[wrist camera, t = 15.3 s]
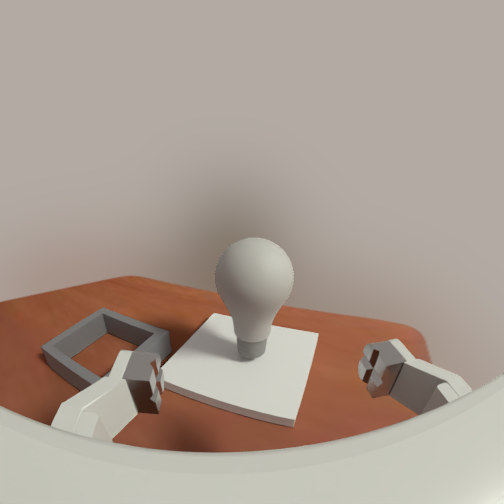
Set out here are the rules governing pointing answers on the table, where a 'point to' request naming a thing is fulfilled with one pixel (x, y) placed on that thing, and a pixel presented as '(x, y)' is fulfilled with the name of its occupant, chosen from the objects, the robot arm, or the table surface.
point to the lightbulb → (253, 289)
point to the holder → (91, 330)
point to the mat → (243, 371)
